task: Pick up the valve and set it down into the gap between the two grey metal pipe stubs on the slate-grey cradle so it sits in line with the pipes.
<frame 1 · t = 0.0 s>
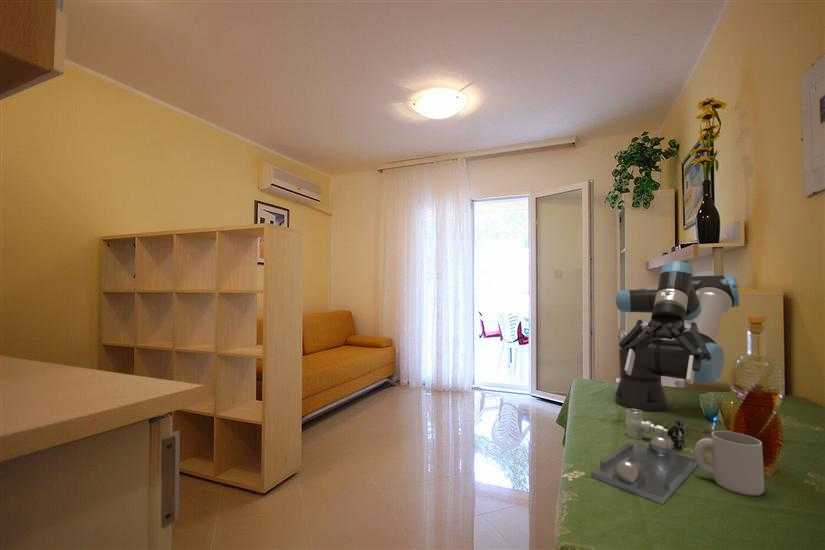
hand: (656, 377, 92), 15 cm above the table, tool tilted 35°, fingers open, 13 cm apart
valve: (652, 442, 89), on the table
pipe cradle: (646, 470, 74), on the table
cup: (728, 485, 69), on the table
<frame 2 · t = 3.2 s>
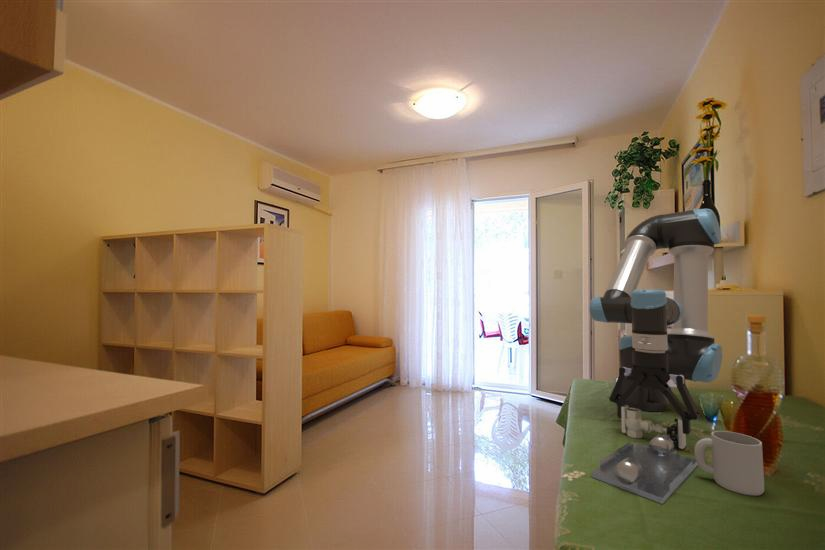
hand: (652, 438, 89), 0 cm above the table, tool pointing down, fingers closed on valve, 12 cm apart
valve: (651, 441, 90), on the table, touching gripper
everything else where it was.
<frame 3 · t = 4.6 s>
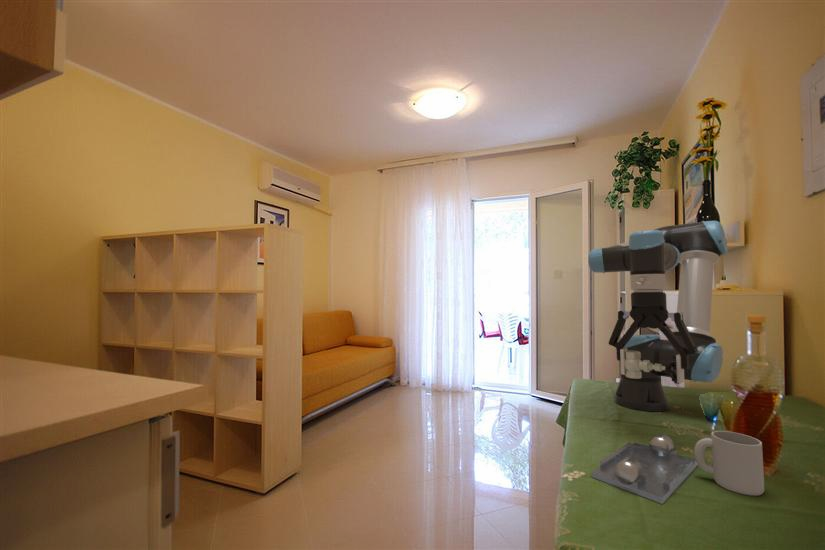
hand: (651, 377, 90), 15 cm above the table, tool pointing down, fingers closed on valve, 12 cm apart
valve: (650, 380, 91), point 15 cm above the table, touching gripper
everything else where it was.
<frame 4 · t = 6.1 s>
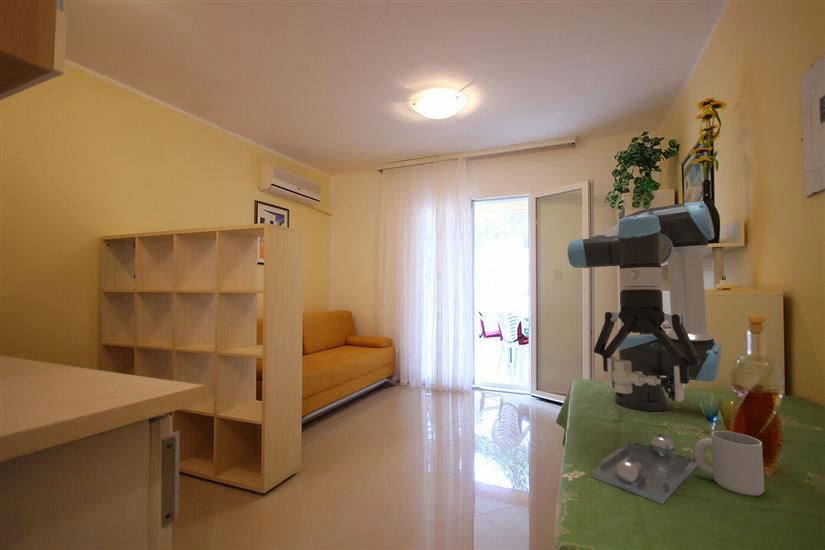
hand: (643, 393, 75), 16 cm above the table, tool pointing down, fingers closed on valve, 12 cm apart
valve: (643, 396, 75), point 15 cm above the table, touching gripper
everything else where it was.
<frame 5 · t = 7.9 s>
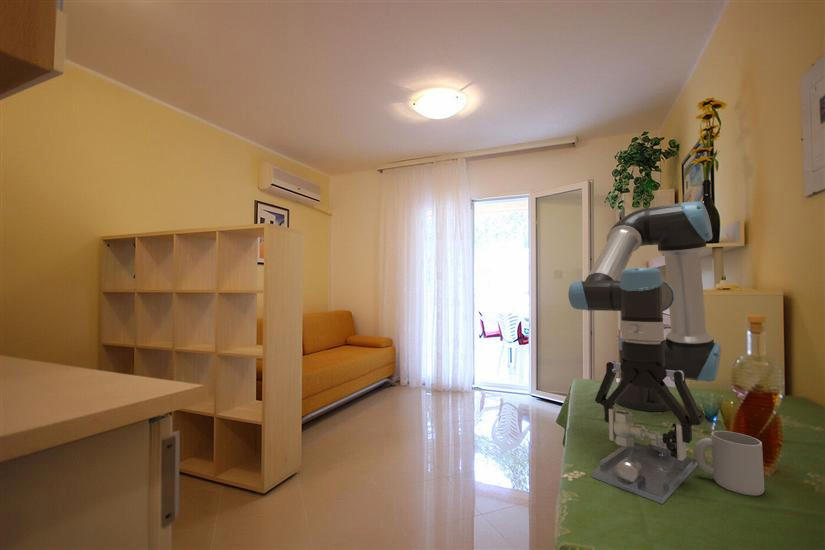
hand: (645, 448, 74), 5 cm above the table, tool pointing down, fingers closed on valve, 12 cm apart
valve: (645, 450, 74), point 4 cm above the table, touching gripper
everything else where it was.
when the fingers open (4 cm above the table, at t = 9.2 s): valve drops 1 cm, resting on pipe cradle.
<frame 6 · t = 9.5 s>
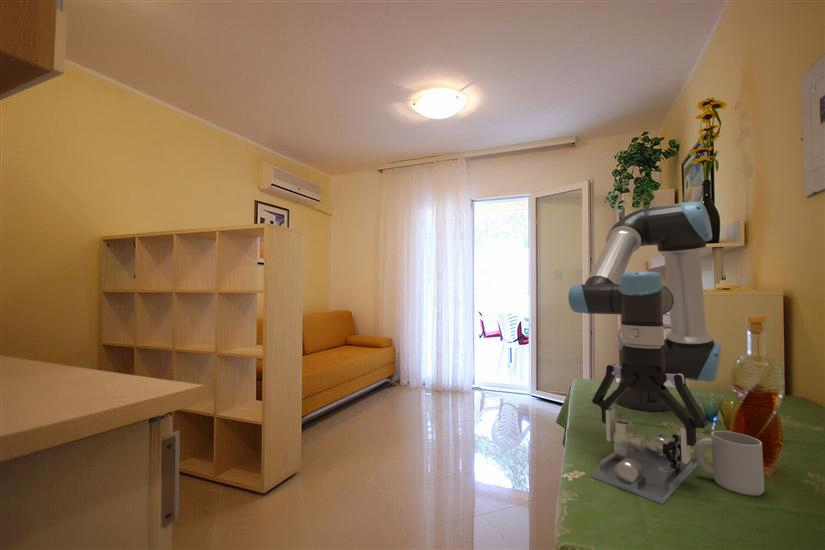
hand: (645, 449, 74), 4 cm above the table, tool pointing down, fingers open, 13 cm apart
valve: (644, 460, 74), point 2 cm above the table, touching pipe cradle
everything else where it was.
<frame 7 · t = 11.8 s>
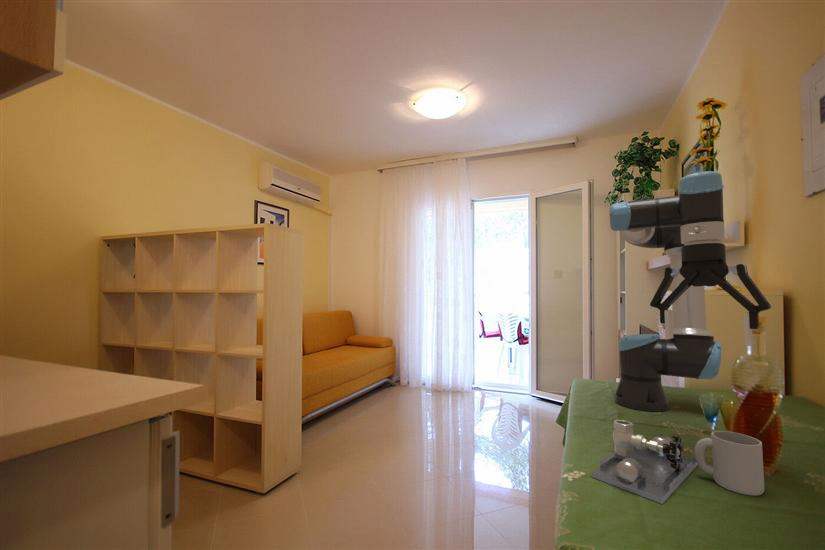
hand: (706, 341, 78), 26 cm above the table, tool pointing down, fingers open, 13 cm apart
nothing on the table moved.
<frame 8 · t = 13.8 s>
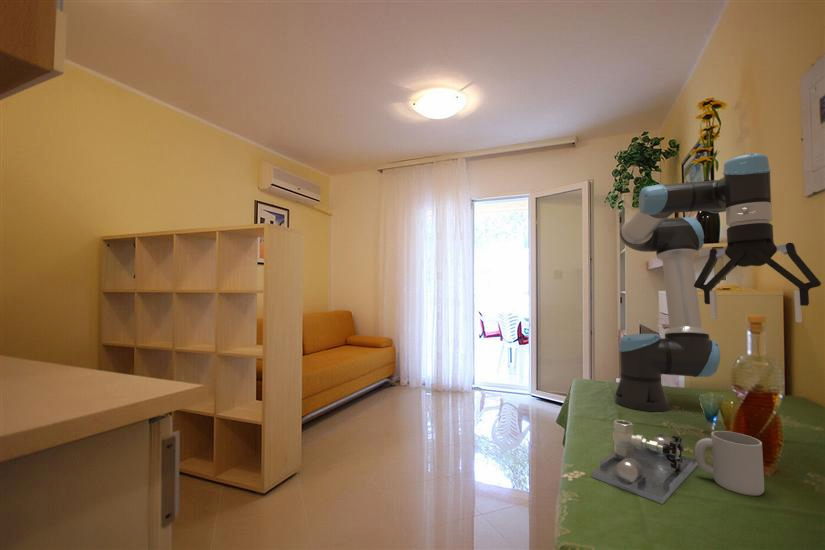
hand: (753, 320, 79), 31 cm above the table, tool pointing down, fingers open, 13 cm apart
nothing on the table moved.
at the end: valve inside the target area on the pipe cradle (0.5 cm from its centre), point 1.8 cm above the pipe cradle's base; the gripper is holding nothing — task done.
